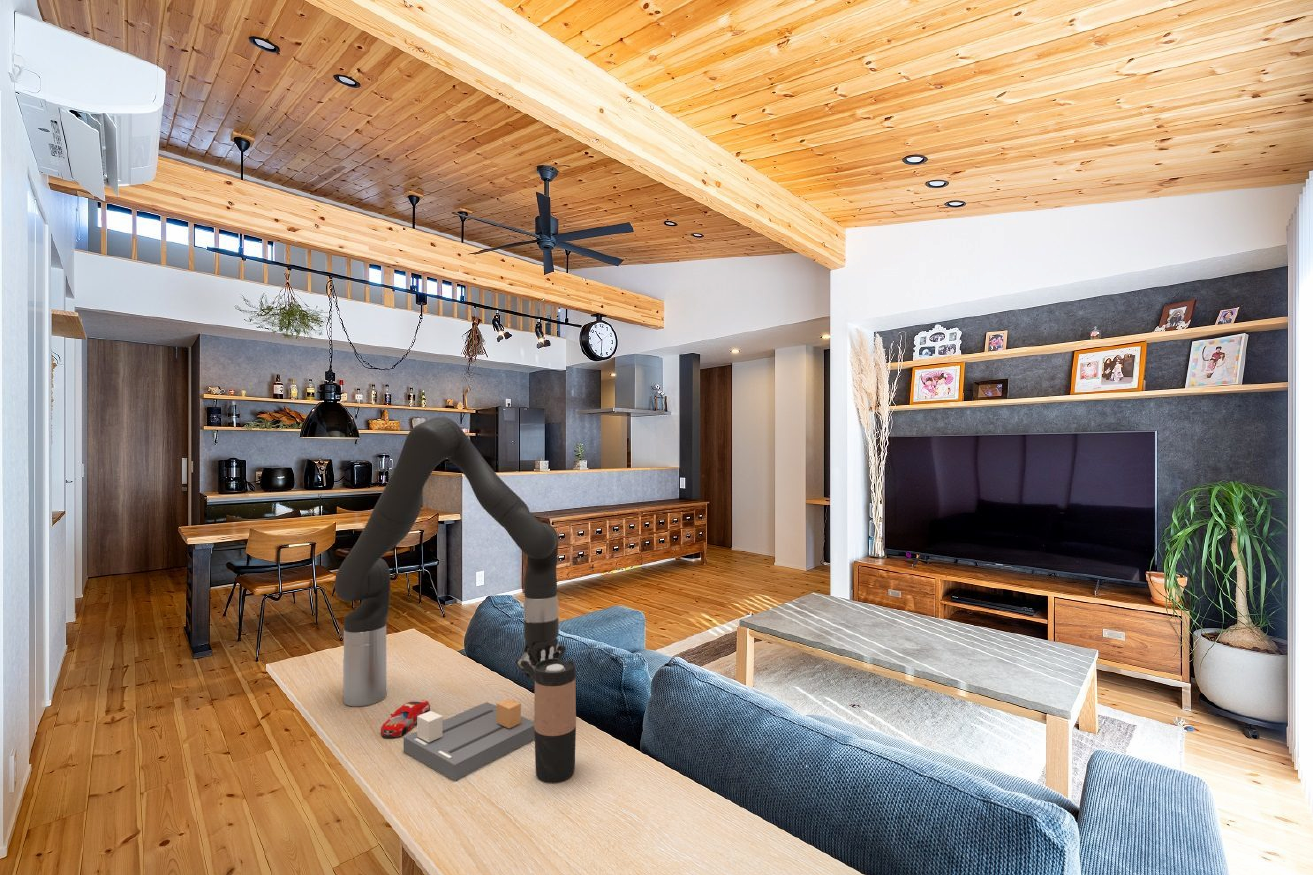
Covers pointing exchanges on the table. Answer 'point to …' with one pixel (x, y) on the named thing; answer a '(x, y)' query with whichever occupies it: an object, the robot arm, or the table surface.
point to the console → (469, 742)
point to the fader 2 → (508, 713)
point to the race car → (404, 718)
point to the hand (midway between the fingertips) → (541, 695)
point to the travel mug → (555, 720)
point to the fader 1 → (429, 726)
